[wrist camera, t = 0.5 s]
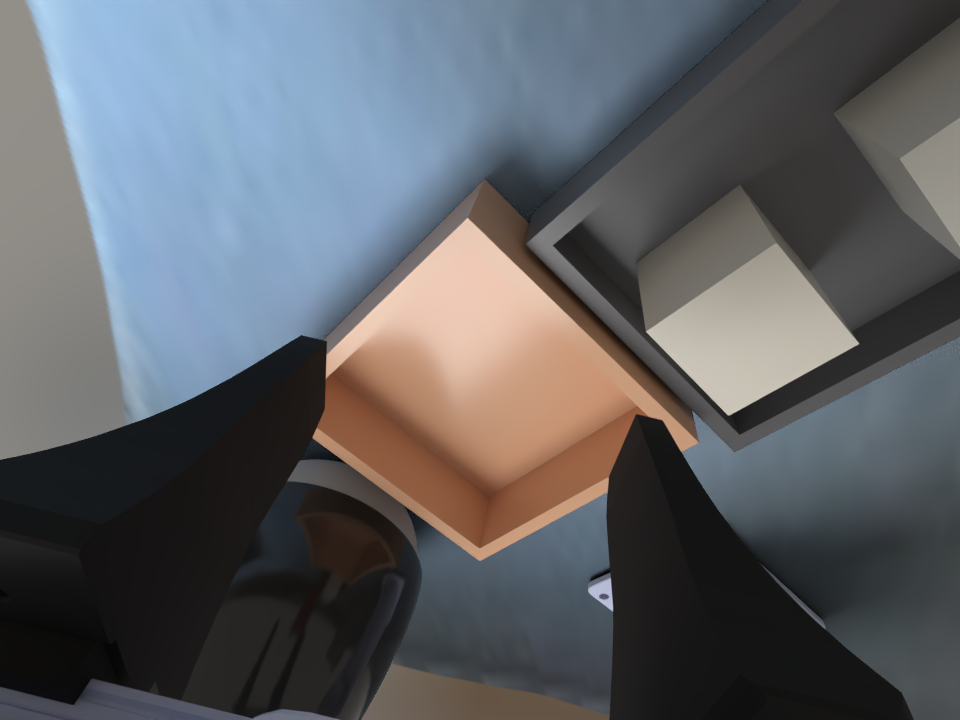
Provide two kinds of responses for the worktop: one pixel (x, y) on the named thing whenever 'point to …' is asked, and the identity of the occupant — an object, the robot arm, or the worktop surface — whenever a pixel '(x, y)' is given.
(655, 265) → the stone
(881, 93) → the stone
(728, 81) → the parts tray
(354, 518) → the dark grey rounded dome
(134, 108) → the worktop surface
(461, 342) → the terracotta dish
